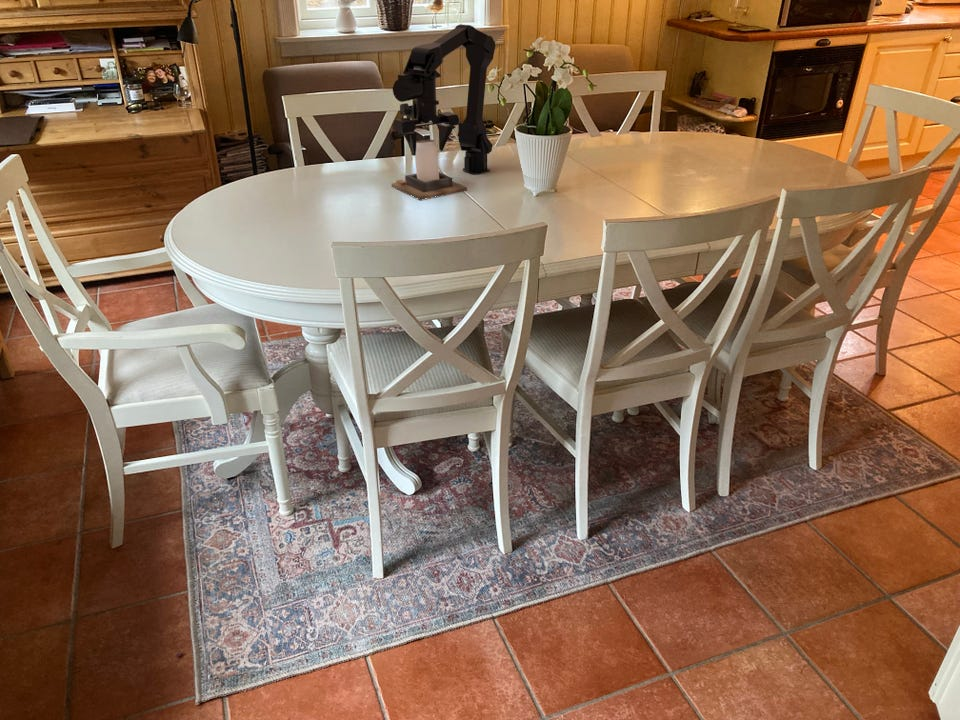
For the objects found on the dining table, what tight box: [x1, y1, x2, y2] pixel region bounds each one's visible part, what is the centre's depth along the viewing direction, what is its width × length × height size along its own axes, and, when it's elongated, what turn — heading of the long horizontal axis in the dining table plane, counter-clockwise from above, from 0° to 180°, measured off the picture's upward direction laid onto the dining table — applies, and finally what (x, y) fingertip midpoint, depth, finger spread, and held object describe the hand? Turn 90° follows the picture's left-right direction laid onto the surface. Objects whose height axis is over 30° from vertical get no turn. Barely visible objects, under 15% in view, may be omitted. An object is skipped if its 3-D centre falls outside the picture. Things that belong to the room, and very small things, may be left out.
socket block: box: [391, 171, 468, 200], centre depth 220 cm, size 16×16×4 cm
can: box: [414, 139, 440, 182], centre depth 218 cm, size 6×6×12 cm
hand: (427, 152), depth 216 cm, fingers open, 9 cm apart
